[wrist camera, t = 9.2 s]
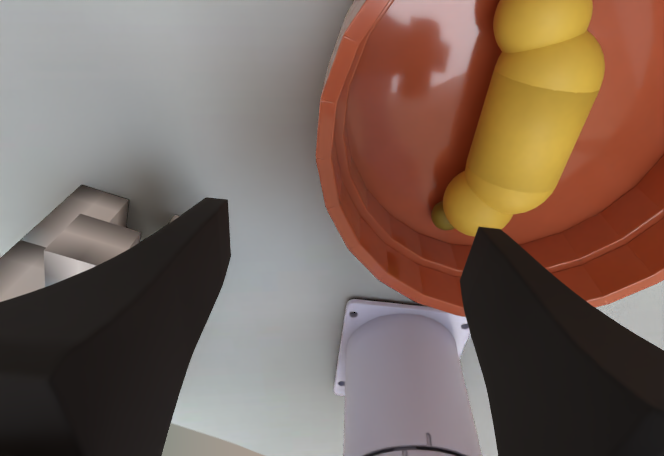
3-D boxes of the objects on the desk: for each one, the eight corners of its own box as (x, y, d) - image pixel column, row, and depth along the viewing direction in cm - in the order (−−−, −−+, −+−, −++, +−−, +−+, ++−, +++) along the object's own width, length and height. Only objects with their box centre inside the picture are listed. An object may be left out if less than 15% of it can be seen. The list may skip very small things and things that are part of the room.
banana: (510, 227, 22) (535, 274, 19) (426, 218, 22) (437, 263, 19) (620, -46, 15) (686, -42, 12) (499, -60, 15) (535, -59, 12)
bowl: (607, 269, 24) (658, 337, 20) (313, 238, 24) (304, 300, 20) (832, -103, 15) (1016, -118, 11) (347, -159, 14) (342, -197, 10)
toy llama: (227, 192, 23) (-121, 880, 6) (178, 379, 32) (-10, 844, 16) (82, 144, 21) (-826, 834, 5) (76, 353, 31) (-242, 825, 15)
